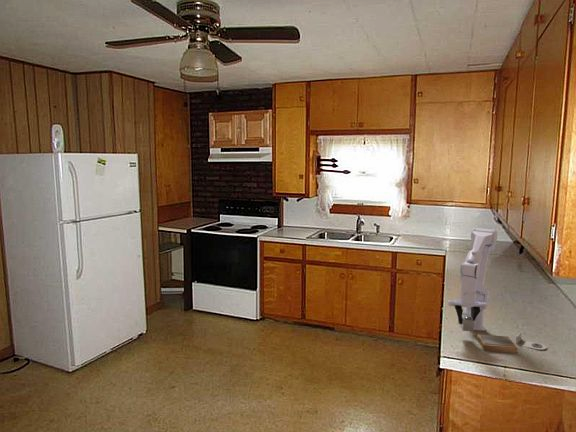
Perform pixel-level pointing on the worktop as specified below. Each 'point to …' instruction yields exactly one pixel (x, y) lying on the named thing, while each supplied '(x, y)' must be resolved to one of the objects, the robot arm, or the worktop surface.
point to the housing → (467, 322)
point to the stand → (496, 343)
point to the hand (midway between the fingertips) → (465, 323)
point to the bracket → (530, 344)
